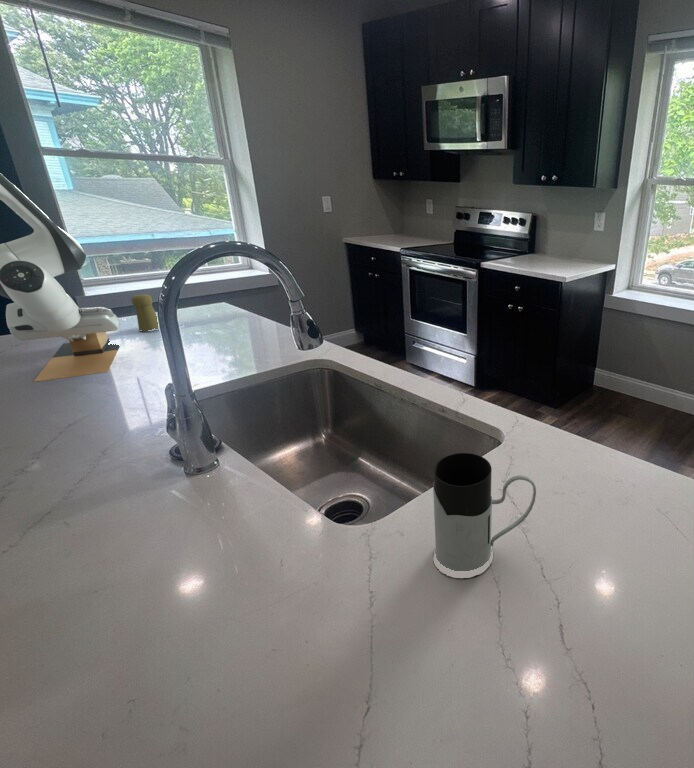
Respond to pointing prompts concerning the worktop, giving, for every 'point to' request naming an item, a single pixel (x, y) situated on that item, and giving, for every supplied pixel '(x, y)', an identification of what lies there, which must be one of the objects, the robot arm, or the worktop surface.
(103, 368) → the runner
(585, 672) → the worktop surface
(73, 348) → the eraser block
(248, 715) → the worktop surface
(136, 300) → the pepper shaker
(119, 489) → the worktop surface
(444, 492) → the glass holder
